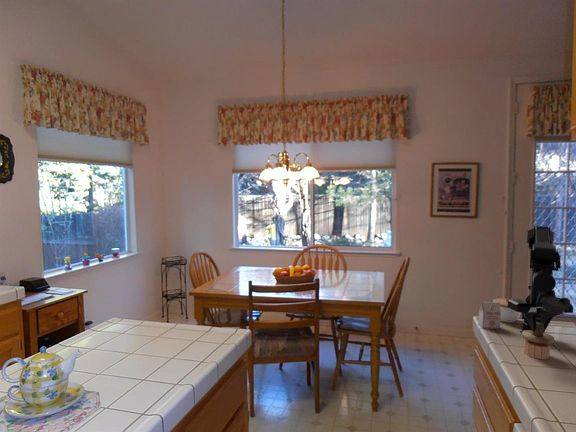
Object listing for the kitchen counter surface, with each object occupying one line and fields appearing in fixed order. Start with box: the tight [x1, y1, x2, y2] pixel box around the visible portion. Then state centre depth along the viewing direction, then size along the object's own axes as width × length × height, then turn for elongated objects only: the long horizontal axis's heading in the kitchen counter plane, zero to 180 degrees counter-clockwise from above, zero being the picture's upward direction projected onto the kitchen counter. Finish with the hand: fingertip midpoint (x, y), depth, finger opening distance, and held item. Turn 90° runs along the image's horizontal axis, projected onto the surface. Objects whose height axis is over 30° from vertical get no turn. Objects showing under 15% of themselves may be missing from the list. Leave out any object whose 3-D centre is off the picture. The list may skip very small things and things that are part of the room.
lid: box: [521, 322, 555, 345], centre depth 128 cm, size 9×9×5 cm
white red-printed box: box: [477, 301, 501, 330], centre depth 153 cm, size 4×7×10 cm, turn 88°
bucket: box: [523, 338, 551, 360], centre depth 128 cm, size 7×7×4 cm
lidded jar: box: [492, 297, 522, 323], centre depth 162 cm, size 11×11×9 cm
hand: (538, 331), depth 128 cm, fingers closed on lid, 3 cm apart
